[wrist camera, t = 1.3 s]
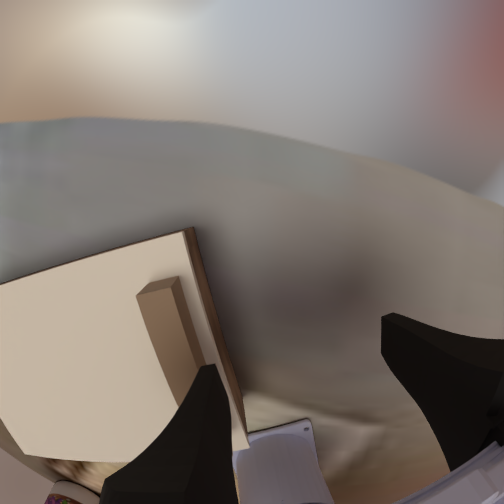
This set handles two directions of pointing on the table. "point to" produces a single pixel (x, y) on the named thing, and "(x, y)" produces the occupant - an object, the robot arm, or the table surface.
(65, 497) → the milk bottle
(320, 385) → the table surface
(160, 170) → the table surface
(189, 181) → the table surface
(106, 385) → the lid
